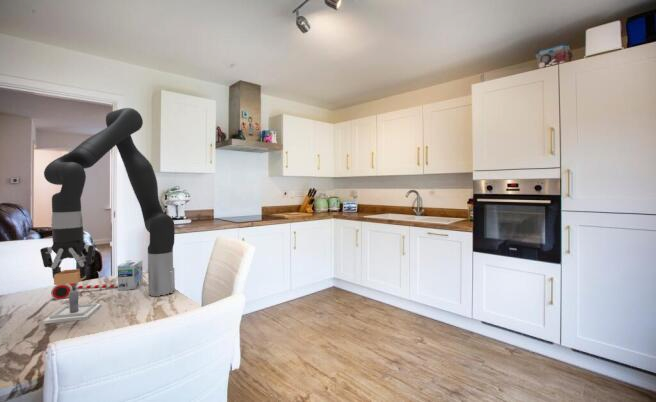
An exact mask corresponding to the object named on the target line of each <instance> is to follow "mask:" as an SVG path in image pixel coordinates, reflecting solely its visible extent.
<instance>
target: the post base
mask: <svg viewBox="0 0 656 402" xmlns="http://www.w3.org/2000/svg"><path fill="white" fill-rule="evenodd" d="M68 302H69V303H68V304H69V305H64V306H63V307H60V308H59V309H58V310H56V311H55V312H54V313H52V314H51V315H50V316H48V317H47V318H45V319H44V320H42V325H47V324H55V323H65V322H67V323H68V322H75V321H85V320H88V319H89V318H90V317H92V315H94V314H95V313H96V312H97V311H98V310H100V308H101V307H102V303H97V302H94V303H93V302H91V303H82V304H80V303H79V290H73V291H71V292H69V297H68Z"/></svg>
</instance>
